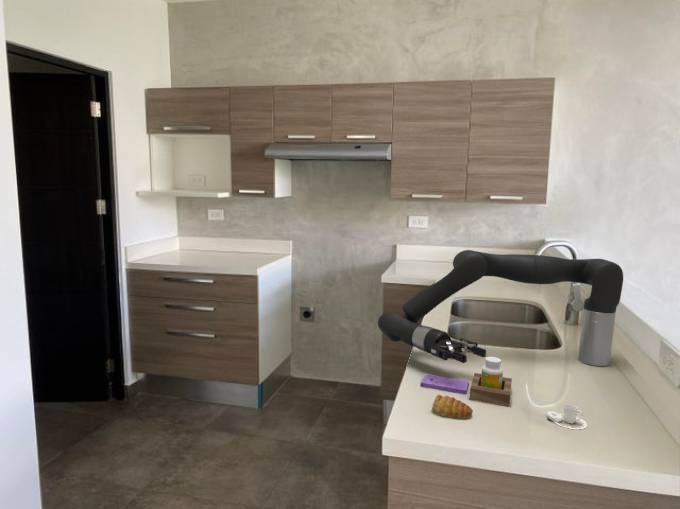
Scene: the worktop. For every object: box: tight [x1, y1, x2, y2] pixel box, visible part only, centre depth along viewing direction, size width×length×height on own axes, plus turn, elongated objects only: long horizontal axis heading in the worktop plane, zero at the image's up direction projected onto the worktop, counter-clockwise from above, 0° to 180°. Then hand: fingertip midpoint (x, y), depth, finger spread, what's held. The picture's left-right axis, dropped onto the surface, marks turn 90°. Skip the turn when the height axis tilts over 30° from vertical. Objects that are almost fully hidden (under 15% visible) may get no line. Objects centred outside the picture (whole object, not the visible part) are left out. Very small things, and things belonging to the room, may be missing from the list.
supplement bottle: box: [481, 356, 504, 389], centre depth 137 cm, size 5×5×10 cm
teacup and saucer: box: [545, 404, 588, 431], centre depth 123 cm, size 9×8×4 cm
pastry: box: [431, 394, 474, 420], centre depth 126 cm, size 9×7×4 cm
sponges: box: [420, 373, 470, 395], centre depth 142 cm, size 7×13×2 cm, turn 69°
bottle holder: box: [469, 372, 513, 407], centre depth 138 cm, size 12×10×3 cm
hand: (475, 356), depth 141 cm, fingers open, 8 cm apart
